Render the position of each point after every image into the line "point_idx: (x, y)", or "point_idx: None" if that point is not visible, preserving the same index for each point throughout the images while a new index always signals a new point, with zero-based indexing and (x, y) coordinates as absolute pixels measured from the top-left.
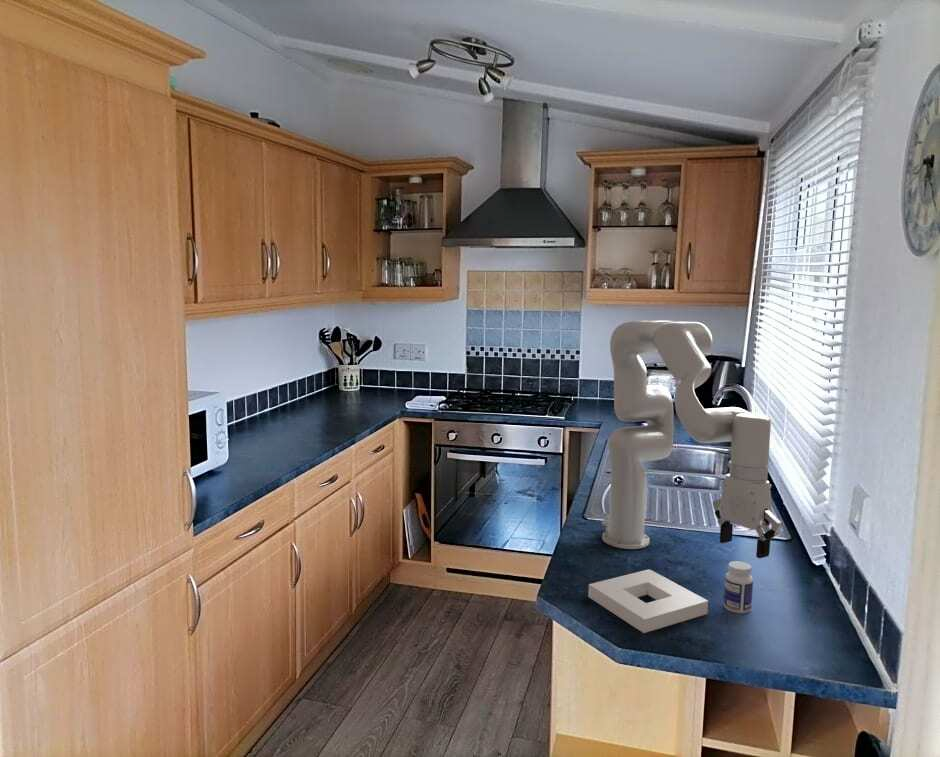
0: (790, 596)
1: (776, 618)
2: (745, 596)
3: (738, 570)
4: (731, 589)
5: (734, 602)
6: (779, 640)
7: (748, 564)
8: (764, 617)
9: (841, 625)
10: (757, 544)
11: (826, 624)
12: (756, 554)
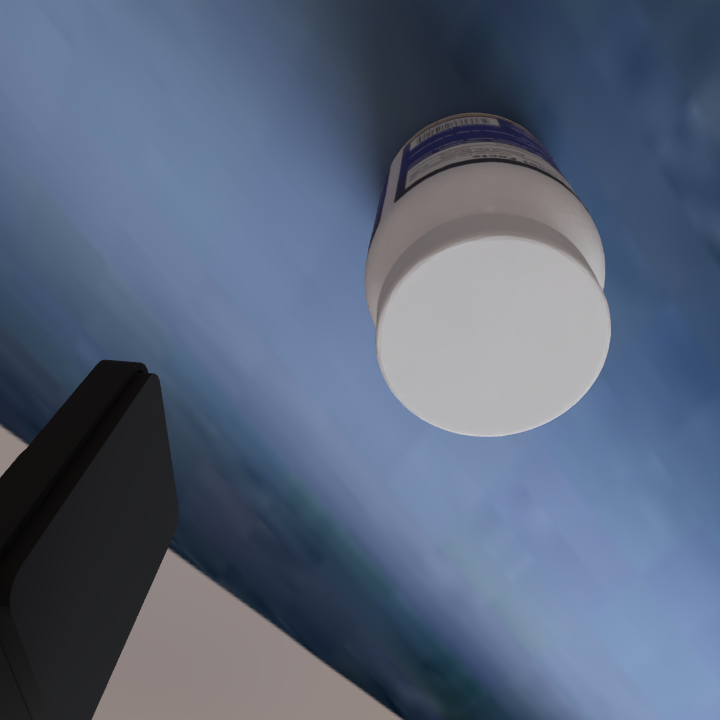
0: (389, 529)
1: (263, 287)
2: (380, 203)
3: (437, 242)
4: (471, 145)
5: (437, 134)
6: (57, 62)
7: (449, 421)
8: (301, 240)
9: None
10: (28, 500)
11: None
12: (142, 388)
